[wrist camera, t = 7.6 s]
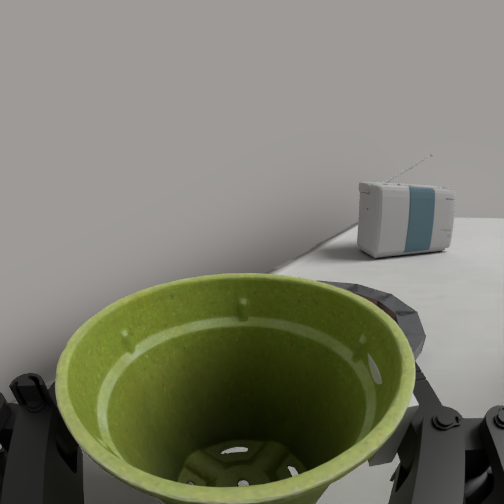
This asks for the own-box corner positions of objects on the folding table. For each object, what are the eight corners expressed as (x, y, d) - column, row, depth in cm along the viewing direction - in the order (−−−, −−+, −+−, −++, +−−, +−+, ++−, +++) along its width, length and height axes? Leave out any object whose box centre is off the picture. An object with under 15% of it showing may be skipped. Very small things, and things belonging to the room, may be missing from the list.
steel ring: (405, 300, 34) (407, 287, 34) (433, 399, 18) (440, 381, 17) (266, 288, 40) (266, 275, 39) (207, 373, 23) (205, 355, 23)
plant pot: (385, 534, 7) (491, 391, 4) (148, 587, 5) (7, 492, 2) (305, 405, 16) (318, 262, 13) (139, 430, 13) (95, 285, 11)
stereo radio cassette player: (374, 262, 49) (380, 143, 43) (351, 249, 57) (354, 144, 51) (451, 253, 53) (459, 156, 47) (426, 243, 61) (432, 154, 55)
